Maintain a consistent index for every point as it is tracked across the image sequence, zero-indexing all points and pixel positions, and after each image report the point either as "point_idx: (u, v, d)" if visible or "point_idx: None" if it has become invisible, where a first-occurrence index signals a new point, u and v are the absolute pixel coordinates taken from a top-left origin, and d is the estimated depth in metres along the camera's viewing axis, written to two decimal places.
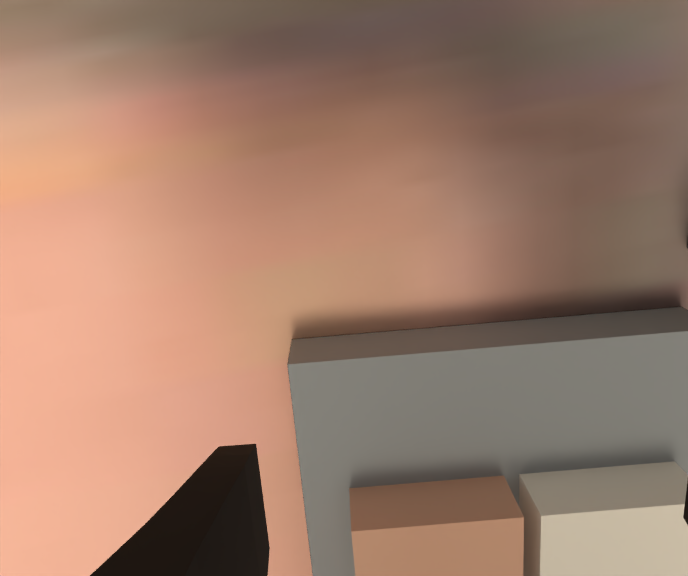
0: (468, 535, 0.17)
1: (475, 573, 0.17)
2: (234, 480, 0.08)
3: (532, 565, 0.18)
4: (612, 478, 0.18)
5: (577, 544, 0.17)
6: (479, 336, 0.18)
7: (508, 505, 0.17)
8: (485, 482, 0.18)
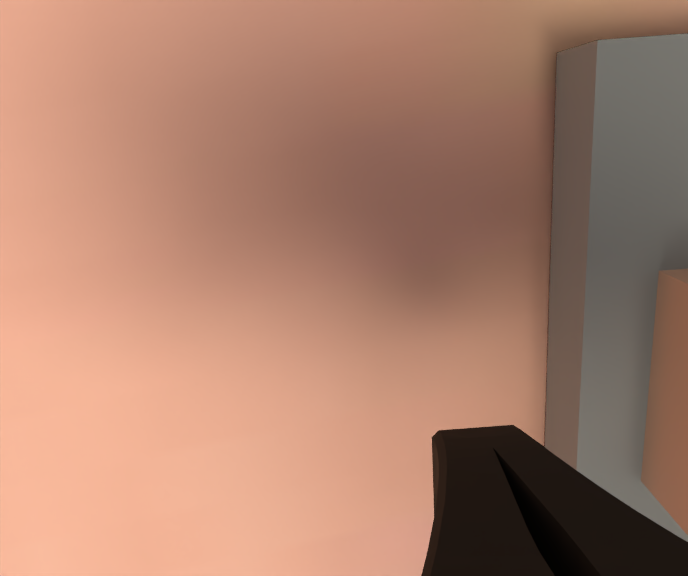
0: None
1: None
2: (497, 460, 0.08)
3: None
4: None
5: None
6: None
7: None
8: None
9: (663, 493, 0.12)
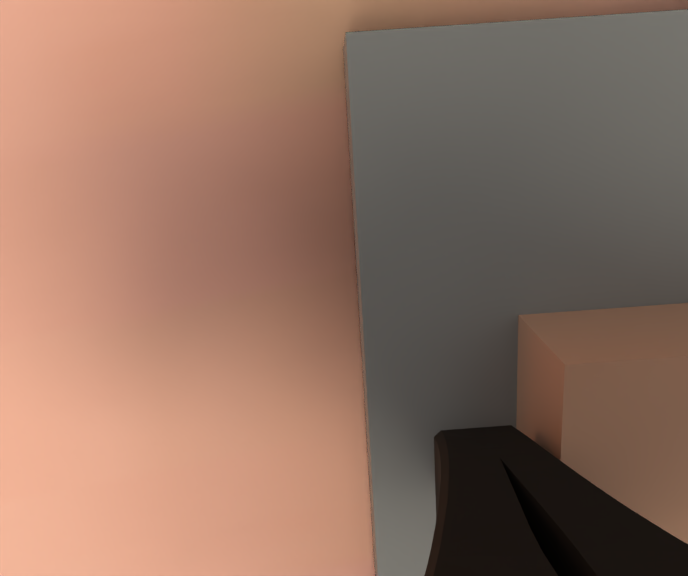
0: None
1: None
2: (499, 461, 0.08)
3: None
4: None
5: None
6: None
7: None
8: None
9: None
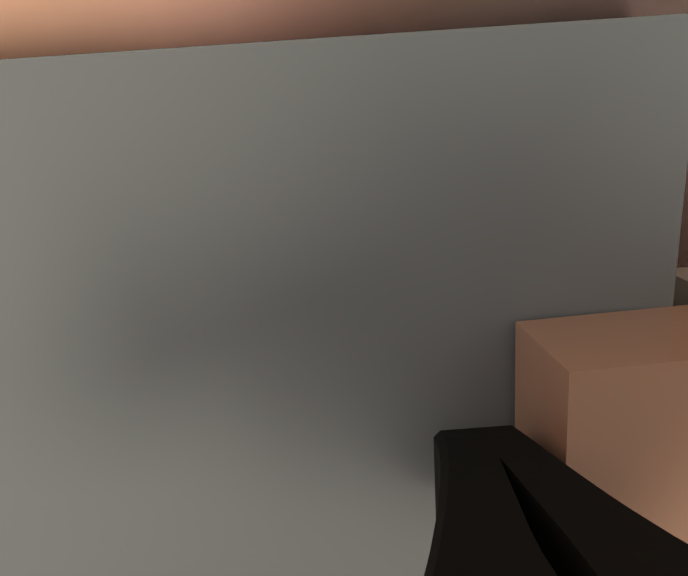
0: None
1: None
2: (499, 461, 0.08)
3: None
4: None
5: None
6: None
7: None
8: None
9: None
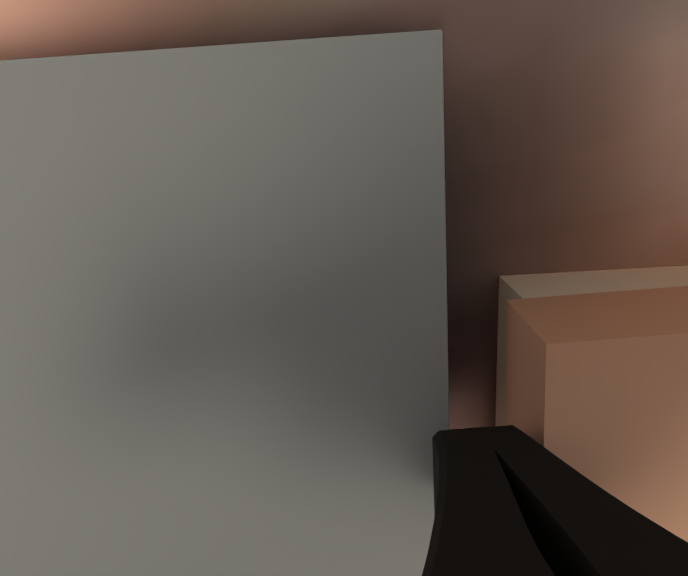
0: None
1: None
2: (497, 460, 0.08)
3: None
4: (639, 270, 0.11)
5: None
6: None
7: None
8: None
9: None
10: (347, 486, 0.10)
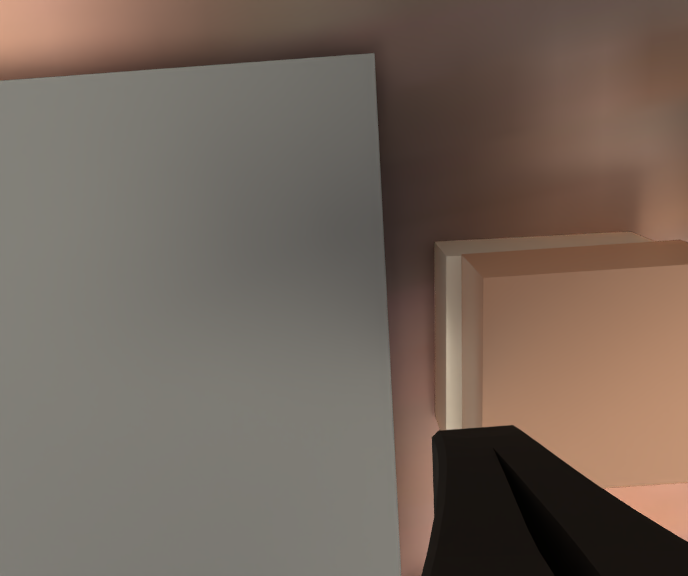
0: (654, 289, 0.11)
1: (658, 353, 0.12)
2: (497, 461, 0.08)
3: (440, 342, 0.14)
4: (543, 237, 0.14)
5: None
6: None
7: None
8: (657, 244, 0.13)
9: None
10: (313, 401, 0.14)
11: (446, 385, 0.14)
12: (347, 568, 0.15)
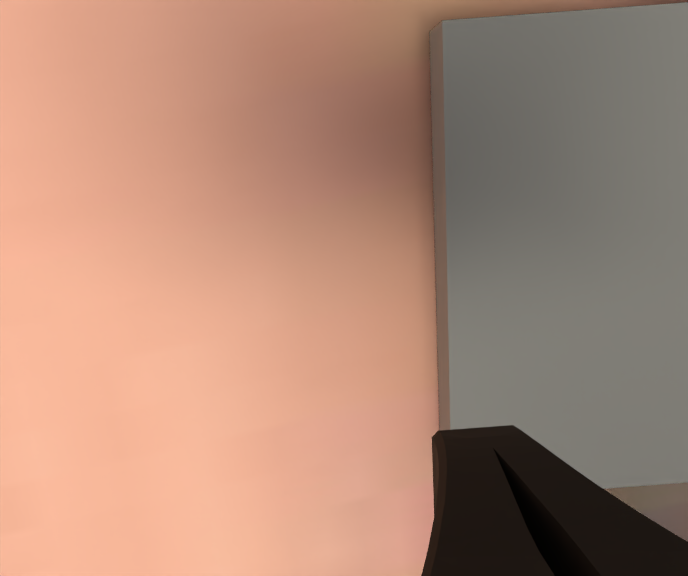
0: None
1: None
2: (497, 461, 0.08)
3: None
4: None
5: None
6: None
7: None
8: None
9: None
10: None
11: None
12: None
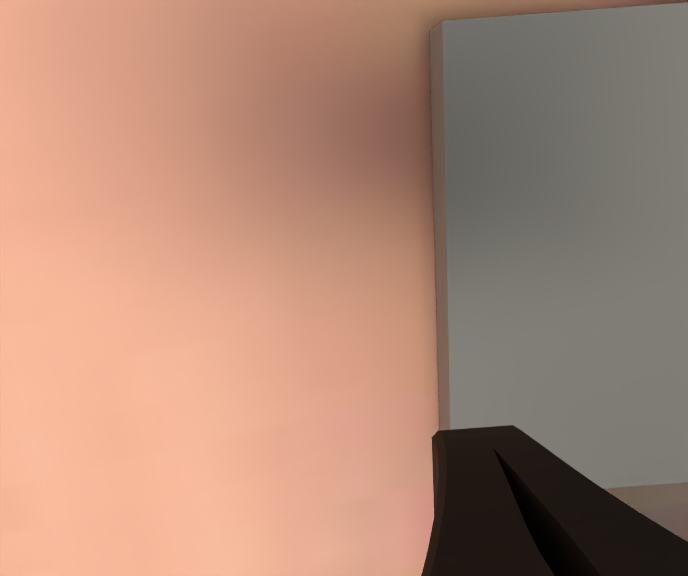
0: None
1: None
2: (497, 461, 0.08)
3: None
4: None
5: None
6: None
7: None
8: None
9: None
10: None
11: None
12: None
